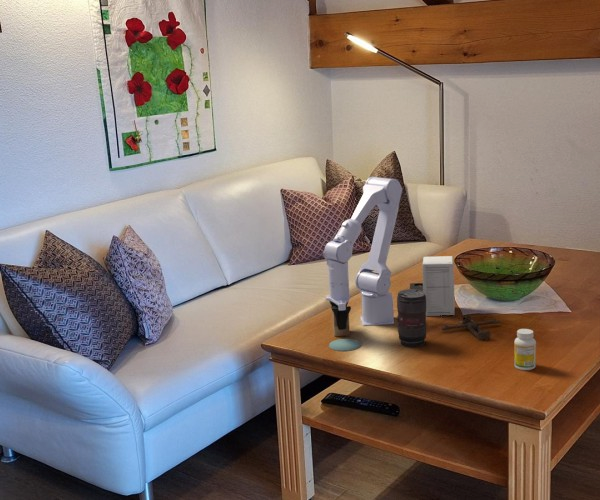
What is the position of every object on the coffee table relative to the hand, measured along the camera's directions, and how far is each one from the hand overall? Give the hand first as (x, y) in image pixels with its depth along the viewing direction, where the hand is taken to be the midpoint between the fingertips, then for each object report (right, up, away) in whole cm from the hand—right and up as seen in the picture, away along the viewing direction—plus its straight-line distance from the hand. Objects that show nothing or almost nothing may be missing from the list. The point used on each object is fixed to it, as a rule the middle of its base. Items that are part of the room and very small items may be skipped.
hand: (341, 326), depth 243 cm
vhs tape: (+29, +7, +35) cm, 46 cm away
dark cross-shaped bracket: (+38, -2, -4) cm, 39 cm away
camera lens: (+20, -4, -10) cm, 23 cm away
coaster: (+1, -5, -9) cm, 10 cm away
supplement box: (+31, +3, +15) cm, 35 cm away
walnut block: (0, -2, +1) cm, 2 cm away
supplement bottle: (+46, -8, -31) cm, 56 cm away
